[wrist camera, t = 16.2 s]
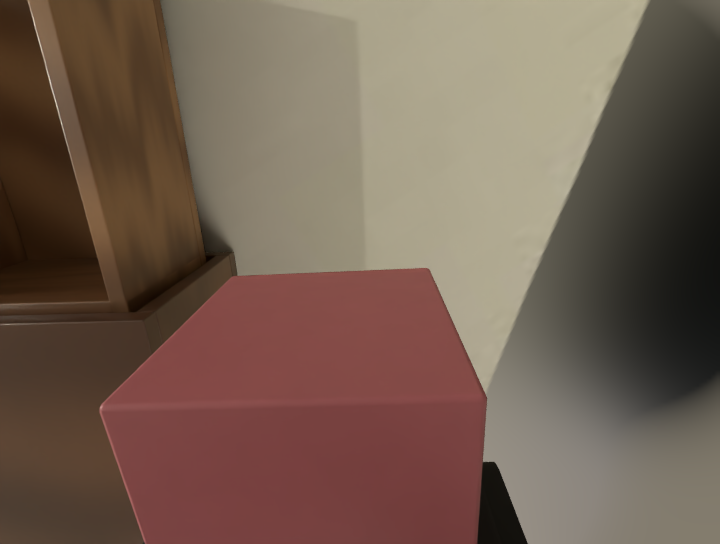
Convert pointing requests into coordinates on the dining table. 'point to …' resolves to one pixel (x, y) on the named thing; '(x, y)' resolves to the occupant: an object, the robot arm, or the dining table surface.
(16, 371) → the cabinet
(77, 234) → the drawer
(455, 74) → the dining table surface
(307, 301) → the pink block on ball
